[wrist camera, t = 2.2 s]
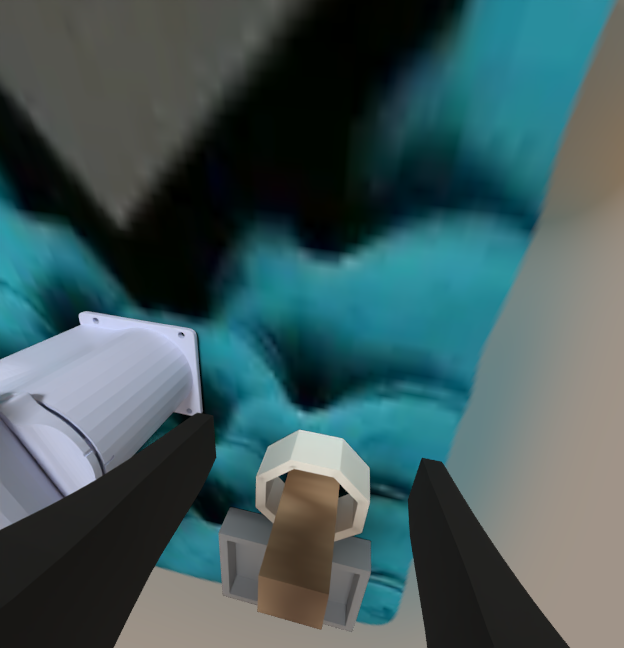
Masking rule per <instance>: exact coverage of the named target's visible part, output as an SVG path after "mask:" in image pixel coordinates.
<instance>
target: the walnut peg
mask: <svg viewBox="0 0 624 648" xmlns="http://www.w3.org/2000/svg"><path fill="white" fill-rule="evenodd" d="M339 485H340V484H339V482H338V481H337V480H336V479H335V478H334V477H329V476H325V475H320V474H315V473H311V472H306V471H302V470H297V469H293V470H291V471H289V472H288V475H287V479H286V482H285V485H284V489H283V492H282V496H281V499H280V503H279V506H278V510H277V513H276V517H275V520H274V523H273V527H272V530H271V534H270V537H269V541H268V544H267V548H266V551H265V555H264V558H263V562H262V565H261V568H260V572H259V575H258V609H257V610H258V612H261V613H265V614H268V615H271V616H275V617H278V618H282V619H285V620H289V621H292V622H296V623H299V624H303V625H306V626H310V627H313V628H317V629H322V624H323V620H324V616H325V611H326V606H327V602H328V597H329V590H330V580H331V569H332V559H333V548H334V538H335V527H336V517H337V506H338V496H339Z"/></svg>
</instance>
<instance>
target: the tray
mask: <svg viewBox="0 0 624 648" xmlns="http://www.w3.org/2000/svg"><path fill="white" fill-rule="evenodd" d="M272 527H273V523H272V522H271V521H270V520H269V519H268V518H267V517H266V516H265V515H262V514H258V513H254V512H249V511H245V510H241V509H237V508H233V507H230V509H229V511H228V513H227V515H226V517H225V520H224V522H223V524H222V526H221V529H220V531H219V547H220V562H221V577H222V590H223V591H222V592H223V596H226V597H230V598H233V599H237V600H241V601H244V602H248V603H251V604H255V605H258V575H259V572H260V568H261V565H262V562H263V558H264V555H265V551H266V548H267V544H268V541H269V537H270V534H271V530H272ZM370 573H371V541H369V540H364V539H360V538H356V537H352V536H350V537H347V538H344V539H341V540H338V541H334V548H333V559H332V569H331V580H330V590H329V597H328V602H327V606H326V611H325V616H324V620H323V624H325V625H328V626H332V627H335V628H339V629H343V630H346V631H350V632H352V631H353V628H354V625H355V621H356V618H357V615H358V612H359V609H360V605H361V602H362V599H363V596H364V593H365V589H366V586H367V583H368V580H369V577H370Z"/></svg>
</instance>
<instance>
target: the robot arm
mask: <svg viewBox="0 0 624 648" xmlns="http://www.w3.org/2000/svg"><path fill="white" fill-rule="evenodd" d="M79 320H80V324H81V325H80V326H77V327H75V328H73V329H70V330H68V331H66V332H63V333H61V334H59V335H56V336H54V337H52V338H49V339H47V340H45V341H42V342H40V343H38V344H35V345H33V346H31V347H28V348H26V349H24V350H21V351H19V352H17V353H15V354H12V355H10V356H8V357H5V358H3V359H1V360H0V648H113V647H114V646H115V644H116V642H117V639H118V637H119V635H120V633H121V631H122V629H123V627H124V625H125V623H126V621H127V619H128V617H129V615H130V613H131V611H132V609H133V607H134V605H135V603H136V601H137V599H138V597H139V595H140V593H141V591H142V589H143V587H144V585H145V583H146V581H147V580H148V577H149V575H150V573H151V572H152V570H153V568H154V567H155V565H156V563H157V561H158V559H159V558H160V556H161V554H162V553H163V551H164V549H165V548H166V546H167V544H168V543H169V541H170V540H171V538H172V536H173V535H174V533H175V531H176V530H177V528H178V526H179V525H180V523H181V522H182V520H183V518H184V517H185V515H186V513H187V512H188V510H189V508H190V507H191V505H192V503H193V502H194V500H195V498H196V497H197V495H198V493H199V492H200V490H201V488H202V487H203V485H204V483H205V481H206V478H207V476H208V474H209V472H210V470H211V468H212V466H213V463H214V461H215V459H216V448H215V435H214V422H213V415H208V414H203V413H202V412H203V407H202V395H201V383H200V370H199V358H198V345H197V335H196V332H195V331H194V330H193V329H190V328H184V327H178V326H172V325H166V324H160V323H154V322H148V321H142V320H136V319H130V318H124V317H118V316H112V315H106V314H100V313H94V312H88V311H84V312H82V313H80V314H79ZM98 320H99V321H98ZM181 332H182V333H183V334H184V335H185V336H183V335H182V334H181ZM190 409H191V410H190ZM173 412H176V413H181V414H186V415H191V417H190V418H188V419H187V420H185V421H184V422H182V423H181V424H180V425H178V426H177V427H175V428H174V429H172V430H171V431H170V432H168V433H167V434H165V435H164V436H162V437H161V438H160V439H158V440H157V441H155V442H154V443H152V444H151V445H149V446H148V447H146V448H145V449H143V450H142V451H140V452H139V453H137V454H136V455H134V454H135V453H136V452H137V451H138V450H139V449H140V448H141V447H142V445H143V444H144V443H145V442H146V441H147V440H148V439H149V438H150V437H151V436H152V435H153V433H154V432H155V431H156V430H157V429H158V428H159V427H160V426H161V425H162V424H163V423H164V422H165V420H166V419H167V418H168V417H169V416H170V415H171V414H172V413H173ZM133 455H134V456H133ZM132 456H133V457H132ZM408 510H409V528H410V539H411V546H412V552H413V558H414V565H415V571H416V577H417V583H418V589H419V595H420V602H421V608H422V614H423V620H424V627H425V634H426V641H427V648H570V647H569V646H568V645H567V643H566V642H565V641H564V640H563V639H562V637H561V636H560V635H559V633H558V632H557V631H556V630H555V628H554V627H553V626H552V624H551V623H550V622H549V621H548V619H547V618H546V617H545V616H544V614H543V613H542V611H541V610H540V609H539V608H538V606H537V605H536V604H535V602H534V601H533V599H532V598H531V597H530V595H529V594H528V593H527V591H526V590H525V589H524V587H523V586H522V585H521V583H520V582H519V580H518V579H517V577H516V576H515V575H514V573H513V572H512V570H511V569H510V568H509V566H508V565H507V563H506V562H505V561H504V559H503V558H502V556H501V555H500V553H499V552H498V550H497V549H496V547H495V546H494V544H493V543H492V541H491V540H490V538H489V537H488V535H487V534H486V532H485V531H484V530H483V528H482V526H481V525H480V523H479V522H478V520H477V518H476V517H475V515H474V514H473V512H472V511H471V509H470V507H469V506H468V504H467V502H466V501H465V499H464V498H463V496H462V494H461V493H460V491H459V489H458V488H457V486H456V484H455V483H454V481H453V479H452V478H451V476H450V475H449V473H448V471H447V469H446V468H445V466H444V464H443V463H442V462H440V461H435V460H430V459H425V458H422V459H421V462H420V465H419V468H418V471H417V474H416V477H415V480H414V483H413V486H412V489H411V492H410V495H409V498H408Z"/></svg>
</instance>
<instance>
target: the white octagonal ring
mask: <svg viewBox="0 0 624 648" xmlns="http://www.w3.org/2000/svg"><path fill="white" fill-rule="evenodd" d="M293 469H297V470H302V471H306V472H311V473H315V474H320V475H325V476H329V477H334V478H335V479H336V480H337V481H338V482H339V484H340V485H341V486H342V487H343V488H344V489H345V490H346V491H347V492H348V493H349V494H347V495H345V496H342V497H340V498H338V506H337V517H336V527H335V538H334V541H338V540H341V539H344V538H347V537H350V536H353V535H356V534H359V533H362V530H363V526H364V523H365V519H366V515H367V511H368V508H369V504H370V468H369V467H368V466H367V464H366V463H365V462H364V461H363V460H362V459H361V458H360V457H359V456H358V455H357V453H356V452H355V451H354V450H353V449H352V448H351V447H350V446H349V445H348V443H347V442H346V441H345V440H344V439H343V438H338V437H333V436H328V435H323V434H318V433H313V432H308V431H303V430H298V431H296V432H294V433H292V434H290V435H288V436H287V437H285V438H283V439H281V440H279V441H277V442H275V443H274V444H272V445H270V446H268V448H267V451H266V453H265V456H264V458H263V461H262V463H261V466H260V468H259V471H258V473H257V476H256V508H257V509H258V510H259V511H260V512H261V513H263V514H264V515H265V516H266V517H267V518H268V519H269V520H270V521H271V522H272V523H274V520H275V517H276V513H277V510H278V506H279V503H280V499H281V496H282V492H283V489H284V485H285V483H284V482H283V481H282V480H281V479H280V478H279V477H278V476H280V475H282V474H284V473H286V472H288V471H291V470H293Z"/></svg>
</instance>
